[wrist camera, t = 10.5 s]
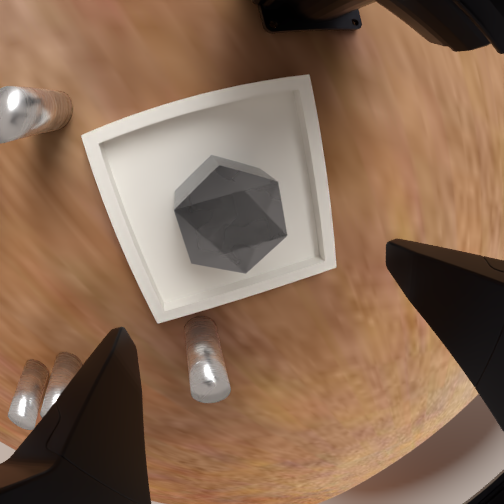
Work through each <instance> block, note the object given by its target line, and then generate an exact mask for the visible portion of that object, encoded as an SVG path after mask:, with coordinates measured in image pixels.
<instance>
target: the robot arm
mask: <svg viewBox="0 0 504 504" xmlns="http://www.w3.org/2000/svg"><path fill="white" fill-rule="evenodd" d="M252 2H253V3H254V4H255V5H258V8H259V12H260V16H261V20H262V24H263V27H264V29H265V30H266V31H267V32H269V33H283V32H295V31H313V30H357V29H359V28H361V26H362V22H361V18H360V15H359V11H358V9H359V8H361V7H363V6H366V5H368V4H371V3H374V2H377V3H379V4H380V5H382V6H383V7H385V8H386V9H388V10H389V11H390V12H392V13H393V14H394V15H396V16H397V17H399V18H400V19H401V20H402V21H404V22H405V23H406V24H408V25H409V26H410V27H411V28H413V29H414V30H415V31H416V32H418V33H419V34H420V35H421V36H423V37H424V38H425V39H426V40H428V41H429V42H431V43H434V44H438V45H442V46H449V47H450V48H451V49H452V50H453V51H455V52H457V51H469V50H474V49H477V48H481V47H484V46H487V45H489V44H492V45H493V47H494V48H495V49H496V51H497V52H498V53H500V54H503V53H504V0H252ZM352 20H353V21H354V22H355V25H353V23H352ZM270 22H272V23H274V24H275V25H276V28H272V27H270V25H269V23H270ZM386 266H387V269H388V270H389V272H390V273H391V275H392V276H393V278H394V279H395V280H396V282H397V283H398V285H399V286H400V288H401V289H402V291H403V292H404V294H405V295H406V297H407V298H408V300H409V301H410V302H411V303H412V305H413V306H414V307H415V308H416V310H417V311H418V312H419V313H420V315H421V316H422V317H423V318H424V320H425V321H426V322H427V323H428V325H429V326H430V327H431V328H432V330H433V331H434V332H435V333H436V335H437V336H438V337H439V339H440V340H441V341H442V343H443V344H444V345H445V347H446V348H447V349H448V351H449V352H450V353H451V355H452V356H453V357H454V359H455V360H456V361H457V363H458V364H459V365H460V367H461V368H462V370H463V371H464V372H465V374H466V375H467V377H468V378H469V380H470V381H471V382H472V384H473V385H474V387H475V388H476V390H477V391H478V393H479V394H480V396H481V397H482V399H483V400H484V402H485V403H486V405H487V406H488V408H489V409H490V411H491V412H492V414H493V416H494V417H495V419H496V421H497V422H498V424H499V425H500V427H501V429H502V430H503V431H504V261H503V260H499V259H494V258H489V257H485V256H484V257H483V256H480V255H476V254H471V253H466V252H462V251H457V250H452V249H448V248H443V247H438V246H433V245H428V244H423V243H418V242H413V241H408V240H402V239H394V240H391V241H389V242H387V244H386ZM0 504H151V499H150V492H149V483H148V475H147V465H146V454H145V442H144V426H143V405H142V388H141V380H140V372H139V364H138V356H137V349H136V346H135V344H134V342H133V341H132V339H131V338H130V336H129V334H128V333H127V331H126V329H125V328H124V327H118V328H115V329H112V330H111V331H110V332H109V333H108V334H107V336H106V337H105V338H104V339H103V340H102V342H101V343H100V344H99V345H98V347H97V348H96V349H95V350H94V352H93V353H92V354H91V355H90V357H89V358H88V359H87V360H86V362H85V363H84V364H83V366H82V367H81V368H80V369H79V371H78V372H77V373H76V375H75V376H74V377H73V378H72V380H71V381H70V382H69V384H68V385H67V386H66V388H65V389H64V390H63V392H62V393H61V394H60V396H59V397H58V398H57V400H56V402H54V404H53V405H52V406H51V408H50V409H49V410H48V412H47V413H46V414H45V416H44V417H43V418H42V420H41V421H40V422H39V423H38V425H37V426H36V427H35V428H34V429H33V431H32V432H31V433H30V434H29V435H28V437H27V438H26V439H25V440H24V442H23V443H22V444H21V445H20V446H19V448H18V449H17V450H16V451H15V452H14V454H13V455H12V456H11V457H10V458H9V459H8V460H6V461H5V462H3V463H1V464H0ZM463 504H504V470H503V471H502V472H500V473H499V474H498V475H497V476H496V477H495V478H494V479H493V480H492V481H491V482H489V483H488V484H487V485H486V486H485V487H483V489H481V490H480V491H479V492H477V493H476V494H475V495H474V496H473V497H471V498H470V499H469V500H467V501H466V502H465V503H463Z"/></svg>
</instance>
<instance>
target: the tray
mask: <svg viewBox="0 0 504 504" xmlns="http://www.w3.org/2000/svg"><path fill="white" fill-rule="evenodd" d="M81 137H82V140H83V143H84V147H85V150H86V153H87V156H88V159H89V162H90V165H91V168H92V171H93V174H94V177H95V180H96V183H97V186H98V189H99V191H100V194H101V197H102V200H103V202H104V205H105V208H106V210H107V213H108V215H109V218H110V221H111V223H112V226H113V228H114V231H115V233H116V235H117V238H118V240H119V243H120V245H121V247H122V250H123V252H124V254H125V257H126V259H127V261H128V263H129V266H130V268H131V270H132V272H133V274H134V277H135V279H136V281H137V283H138V285H139V287H140V289H141V291H142V294H143V296H144V298H145V300H146V302H147V304H148V306H149V308H150V310H151V312H152V314H153V316H154V318H155V320H156V322H157V323H162V322H165V321H169V320H172V319H176V318H179V317H183V316H186V315H190V314H193V313H196V312H200V311H203V310H207V309H210V308H213V307H217V306H220V305H223V304H226V303H230V302H233V301H236V300H239V299H243V298H246V297H249V296H252V295H255V294H258V293H262V292H265V291H268V290H271V289H274V288H277V287H280V286H283V285H286V284H289V283H292V282H295V281H298V280H301V279H304V278H307V277H310V276H313V275H316V274H319V273H322V272H325V271H328V270H331V269H333V268H336V254H335V243H334V232H333V222H332V213H331V204H330V196H329V188H328V180H327V173H326V166H325V159H324V152H323V146H322V139H321V133H320V127H319V122H318V116H317V110H316V105H315V100H314V95H313V89H312V85H311V80H310V75H309V74H308V75H300V76H292V77H285V78H278V79H272V80H266V81H260V82H254V83H249V84H244V85H239V86H234V87H229V88H225V89H220V90H216V91H212V92H208V93H204V94H200V95H196V96H192V97H189V98H185V99H181V100H178V101H174V102H171V103H168V104H164V105H161V106H158V107H155V108H152V109H149V110H146V111H143V112H140V113H137V114H134V115H131V116H128V117H126V118H123V119H120V120H118V121H115V122H112V123H110V124H107V125H105V126H102V127H100V128H97V129H95V130H93V131H90V132H88V133H85V134H83V135H81ZM211 155H214V156H218V157H221V158H225V159H229V160H232V161H236V162H240V163H243V164H247V165H250V166H254V167H257V168H260V169H261V170H263V171H264V172H265V173H267V174H268V175H270V176H271V177H272V178H274V179H275V180H276V181H278V184H279V189H280V195H281V201H282V207H283V212H284V218H285V224H286V230H287V237H286V238H284V239H283V240H282V241H281V242H280V243H279V244H278V245H277V246H276V247H275V248H274V249H272V250H271V251H270V252H269V253H268V254H267V255H266V256H265V257H264V258H263V259H261V260H260V261H259V262H258V263H257V264H256V265H255V266H254V267H253V268H252V269H250V270H249V271H248V272H247V273H246V274H245V273H240V272H234V271H229V270H223V269H217V268H212V267H207V266H201V265H196V264H191V261H190V258H189V255H188V252H187V249H186V246H185V243H184V240H183V237H182V234H181V231H180V228H179V225H178V222H177V218H176V215H175V212H174V195H175V190H176V189H177V188H178V187H179V186H180V185H181V184H182V183H183V182H184V181H185V180H186V179H187V178H188V177H189V176H190V175H191V174H192V173H193V172H194V171H195V170H196V169H197V168H198V167H199V166H200V165H201V164H202V163H203V162H204V161H205V160H207V159H208V158H209V157H210V156H211Z"/></svg>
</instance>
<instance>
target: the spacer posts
mask: <svg viewBox="0 0 504 504" xmlns="http://www.w3.org/2000/svg"><path fill="white" fill-rule="evenodd" d="M72 110H73V105H72V101H71V98H70V97H69V96H68V94H66V93H65V92H62V91H56V90H48V89H39V88H28V87H16V86H6V87H3V88H1V89H0V143H5V142H9V141H13V140H16V139H20V138H24V137H28V136H32V135H37V134H41V133H46V132H50V131H55V130H58V129H61V128H62V127H64V126H65V125H66V124H67V122H68V121H69V119H70V117H71V115H72ZM185 342H186V352H187V362H188V372H189V381H190V389H191V395H192V397H193V398H194V399H195V400H197V401H199V402H203V403H215V402H219V401H221V400H223V399H225V398H226V397H227V396H228V395H229V394H230V391H231V388H230V383H229V379H228V375H227V371H226V367H225V362H224V358H223V354H222V349H221V345H220V340H219V336H218V331H217V327H216V324H215V322H214V321H213V320H212V319H210V318H207V317H195V318H193V319H191V320H189V321H188V322H187V323H186V325H185ZM81 367H82V363H81V361H80V360H79V359H78V358H77V357H76V356H74V355H73V354H70V353H66V352H62V353H59V354H58V355H57V357H56V360H55V363H54V366H53V370H52V373H51V376H50V379H49V383H48V386H47V390H46V393H45V397H44V401H43V405H42V409H41V413H40V415H41V417H42V418H43V417H44V416H45V414H46V413H47V412H48V410H49V409H50V408H51V406H52V405H53V404H54V402H56V400H57V398H58V397H59V396H60V394H61V393H62V392H63V390H64V389H65V388H66V386H67V385H68V384H69V382H70V381H71V380H72V378H73V377H74V376H75V375H76V373H77V372H78V371H79V369H80V368H81ZM48 375H49V372H48V369H47V368H46V367H45V366H44V365H43V364H42V363H40V362H39V361H36V360H28V361H27V362H26V364H25V367H24V369H23V372H22V374H21V377H20V380H19V383H18V385H17V388H16V391H15V394H14V397H13V400H12V403H11V406H10V409H9V413H8V417H9V419H10V420H11V421H12V422H13V423H14V424H16V425H17V426H19V427H21V428H23V429H27V430H33V429H34V427H35V423H36V418H37V414H38V410H39V406H40V403H41V399H42V395H43V392H44V388H45V385H46V381H47V378H48Z"/></svg>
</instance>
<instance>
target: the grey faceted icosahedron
mask: <svg viewBox="0 0 504 504" xmlns="http://www.w3.org/2000/svg"><path fill="white" fill-rule="evenodd" d="M174 212H175V215H176V218H177V222H178V225H179V228H180V231H181V234H182V237H183V240H184V243H185V246H186V249H187V252H188V255H189V258H190V261H191V264H196V265H201V266H207V267H212V268H217V269H223V270H229V271H234V272H240V273H245V274H246V273H247V272H248V271H249V270H250V269H252V268H253V267H254V266H255V265H256V264H257V263H258V262H259V261H260V260H261V259H263V258H264V257H265V256H266V255H267V254H268V253H269V252H270V251H271V250H272V249H274V248H275V247H276V246H277V245H278V244H279V243H280V242H281V241H282V240H283V239H284V238H286V237H287V230H286V224H285V218H284V212H283V207H282V201H281V195H280V189H279V184H278V181H276V180H275V179H274V178H272V177H271V176H270V175H268V174H267V173H265V172H264V171H263V170H261V169H260V168H257V167H254V166H250V165H247V164H243V163H240V162H236V161H232V160H229V159H225V158H221V157H218V156H214V155H211V156H210V157H209V158H208V159H207V160H205V161H204V162H203V163H202V164H201V165H200V166H199V167H198V168H197V169H196V170H195V171H194V172H193V173H192V174H191V175H190V176H189V177H188V178H187V179H186V180H185V181H184V182H183V183H182V184H181V185H180V186H179V187H178V188H177V189H176V190H175V195H174Z"/></svg>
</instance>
